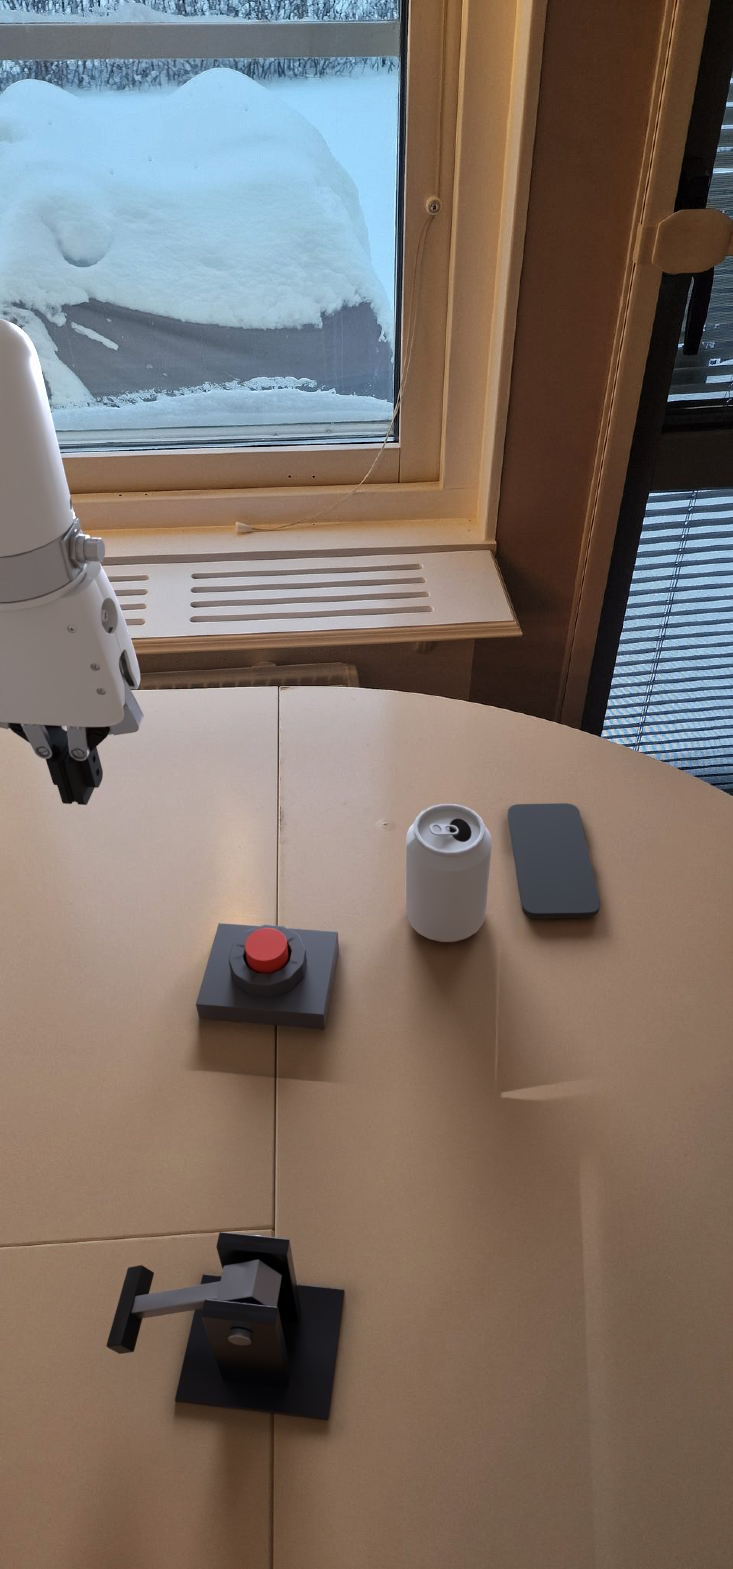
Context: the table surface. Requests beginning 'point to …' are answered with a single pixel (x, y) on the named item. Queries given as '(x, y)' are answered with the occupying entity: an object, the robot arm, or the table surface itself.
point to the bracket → (264, 1341)
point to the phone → (552, 861)
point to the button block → (269, 979)
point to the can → (447, 872)
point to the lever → (187, 1297)
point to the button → (266, 950)
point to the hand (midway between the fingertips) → (81, 790)
